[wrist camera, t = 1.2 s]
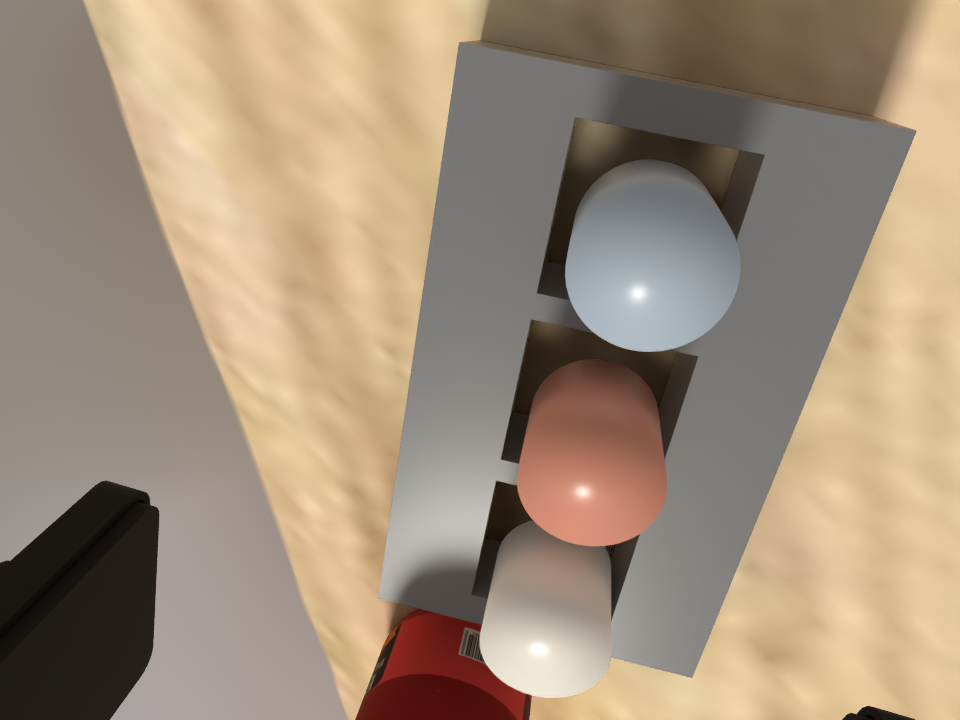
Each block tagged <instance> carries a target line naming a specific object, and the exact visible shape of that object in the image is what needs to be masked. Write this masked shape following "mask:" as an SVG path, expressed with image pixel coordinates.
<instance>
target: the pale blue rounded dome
mask: <svg viewBox="0 0 960 720" xmlns="http://www.w3.org/2000/svg"><path fill="white" fill-rule="evenodd" d="M740 270H741V267H740V254H739V248H738V245H737V242H736V239H735V236H734V234H733V232H732V230H731V228H730V226H729V225H728V223H727V221H726V219H725V218H724V216H723V214H722V213H721V211H720V209H719V208H718V206H717V204H716V203H715V201H714V199H713V198H712V196H711V194H710V193H709V191H708V190H707V188H706V187H705V186H704V184H703V183H702V182H701V181H700V180H699V179H698V178H697V177H696V176H695V175H693V174H692V173H691V172H689V171H688V170H686V169H684V168H683V167H681V166H678V165H676V164H674V163H670V162H666V161H662V160H654V159H644V160H636V161H632V162H628V163H624V164H622V165H619V166H617V167H615V168H613V169H611V170H609V171H608V172H606V173H605V174H603V175H602V176H601V177H599V178H598V179H597V180H596V181H595V182H594V183H593V184H592V185H591V186H590V188H589V189H588V190H587V191H586V193H585V195H584V196H583V198H582V199H581V201H580V204H579V206H578V208H577V211H576V215H575V218H574V223H573V228H572V233H571V238H570V244H569V249H568V254H567V260H566V266H565V279H566V287H567V291H568V295H569V298H570V301H571V303H572V305H573V307H574V309H575V311H576V313H577V314H578V316H579V317H580V319H581V320H582V321H583V322H584V324H585V325H586V326H587V327H588V328H589V329H590V330H591V331H592V332H594V333H595V334H596V335H598V336H599V337H600V338H602V339H604V340H606V341H607V342H609V343H611V344H614V345H616V346H618V347H622V348H625V349H629V350H634V351H642V352H655V351H664V350H669V349H674V348H677V347H680V346H683V345H685V344H688V343H690V342H692V341H694V340H696V339H697V338H699V337H701V336H702V335H704V334H705V333H706V332H707V331H709V330H710V329H711V328H712V327H713V326H714V325H715V324H716V323H717V322H718V321H719V320H720V319H721V318H722V317H723V315H724V314H725V313H726V311H727V310H728V308H729V306H730V304H731V303H732V301H733V298H734V296H735V294H736V291H737V287H738V283H739V279H740Z"/></svg>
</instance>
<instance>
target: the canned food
mask: <svg viewBox="0 0 960 720" xmlns="http://www.w3.org/2000/svg"><path fill="white" fill-rule="evenodd" d="M481 628H482V625H481V624H478V623H474V622H470V621H466V620H462V619H458V618H454V617H450V616H446V615H442V614H438V613H434V612H430V611H426V610H422V609H420V610H418V611H415V612H413V613H411V614H410V615H408V616H407V617H405V618H404V619H403V620H402V621H401V622H400V623H399V624H398V625H397V626H396V627H395V629H394V630H393V631H392V632H391V633H390V634H389V636H388V637H387V639H386V641H385V643H384V645H383V648H382V650H381V653H380V656H379V658H378V661H377V664H376V666H375V669H374V672H373V674H372V677H371V680H370V682H369V685H368V688H367V690H366V693H365V696H364V698H363V701H362V704H361V706H360V709H359V712H358V714H357V717H356V720H529V716H530V707H531V698H532V695H529V694H526V693H523V692H521V691H518V690H516V689H514V688H512V687H510V686H508V685H507V684H506V683H504V682H503V681H501V680H500V679H499V678H498V677H497V676H496V675H495V674H494V673H493V672H492V671H491V670H490V669H489V667H488V666H487V664H486V663H485V661H484V659H483V656H482V654H481V650H480V641H479V639H480V632H481Z"/></svg>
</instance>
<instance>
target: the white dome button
mask: <svg viewBox="0 0 960 720" xmlns="http://www.w3.org/2000/svg"><path fill="white" fill-rule="evenodd" d="M479 641H480V650H481V654H482V656H483V659H484V661H485V663H486V664H487V666H488V667H489V669H490V670H491V671H492V672H493V673H494V674H495V675H496V676H497V677H498V678H499V679H500V680H501V681H503V682H504V683H506V684H507V685H508V686H510V687H512V688H514V689H516V690H518V691H521V692H523V693H526V694H529V695H533V696H538V697H546V698H561V697H568V696H573V695H576V694H580V693H582V692H584V691H586V690H588V689H590V688H591V687H593V686H594V685H596V684H597V683H598V682H599V681H600V680H601V679H602V678H603V676H604V675H605V673H606V672H607V670H608V667H609V665H610V660H611V561H610V557H609V554H608V552H607V550H606V548H605V546H583V545H577V544H573V543H570V542H566V541H564V540H561V539H559V538H556V537H555V536H553V535H551V534H549V533H548V532H546V531H545V530H544V529H542V528H541V527H540V526H539V525H538V524H536V523H535V522H534V521H533V520H531V521H528V522H525V523H523V524H521V525H519V526H517V527H516V528H514V529H513V530H512V531H510V532H509V533H508V534H507V535H506V537H505V538H504V539H503V541H502V543H501V545H500V547H499V550H498V554H497V559H496V563H495V568H494V572H493V577H492V582H491V586H490V591H489V595H488V600H487V605H486V609H485V614H484V618H483V623H482V628H481V632H480V639H479Z"/></svg>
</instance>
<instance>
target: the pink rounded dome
mask: <svg viewBox="0 0 960 720" xmlns="http://www.w3.org/2000/svg"><path fill="white" fill-rule="evenodd" d="M517 488H518V493H519V497H520V500H521V502H522V504H523V506H524V508H525V510H526V511H527V513H528V515H529V516H530V517H531V518H532V519H533V521H534V522H535V523H536V524H538V525H539V526H540V527H541V528H542V529H544V530H545V531H546V532H548V533H549V534H551V535H553V536H555V537H556V538H559V539H561V540H564V541H566V542H570V543H573V544H577V545H583V546H608V545H614V544H618V543H621V542H624V541H627V540H629V539H631V538H633V537H635V536H637V535H639V534H640V533H642V532H643V531H644V530H646V529H647V528H648V527H649V526H650V525H651V524H652V523H653V522H654V521H655V519H656V518H657V517H658V515H659V513H660V512H661V510H662V508H663V505H664V503H665V499H666V495H667V476H666V468H665V460H664V452H663V444H662V436H661V428H660V419H659V411H658V406H657V402H656V399H655V397H654V394H653V393H652V391H651V389H650V387H649V386H648V385H647V384H646V382H645V381H644V380H643V379H642V378H641V377H640V376H639V375H637V374H636V373H635V372H633V371H632V370H630V369H629V368H627V367H625V366H623V365H620V364H618V363H614V362H611V361H606V360H598V359H589V360H580V361H575V362H572V363H569V364H566V365H564V366H562V367H560V368H558V369H557V370H555V371H554V372H552V373H551V374H550V375H549V376H548V377H547V378H546V379H545V380H544V381H543V382H542V383H541V385H540V386H539V388H538V389H537V391H536V393H535V395H534V398H533V402H532V406H531V411H530V415H529V420H528V425H527V429H526V434H525V439H524V443H523V448H522V453H521V458H520V462H519V467H518V473H517Z"/></svg>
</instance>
